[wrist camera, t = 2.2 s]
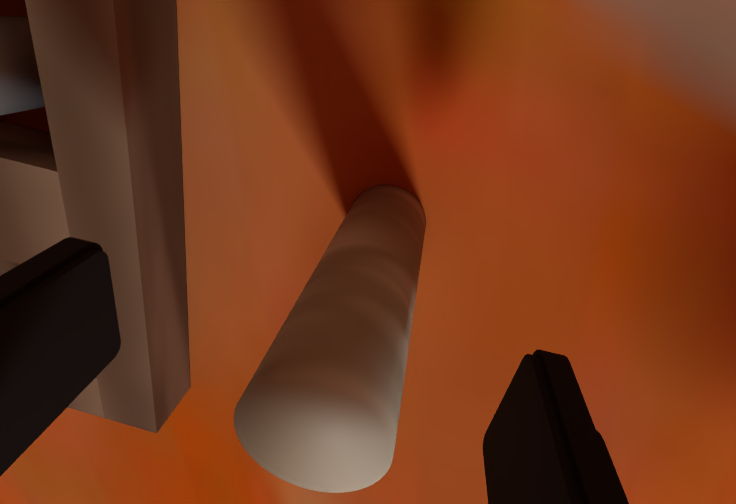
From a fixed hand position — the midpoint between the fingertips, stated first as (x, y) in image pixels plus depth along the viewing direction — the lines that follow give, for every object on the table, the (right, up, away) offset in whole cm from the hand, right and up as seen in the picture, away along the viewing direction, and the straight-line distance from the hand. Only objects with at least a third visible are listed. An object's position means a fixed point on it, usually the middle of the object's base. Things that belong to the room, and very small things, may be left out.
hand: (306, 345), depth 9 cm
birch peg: (+2, +3, +7) cm, 8 cm away
